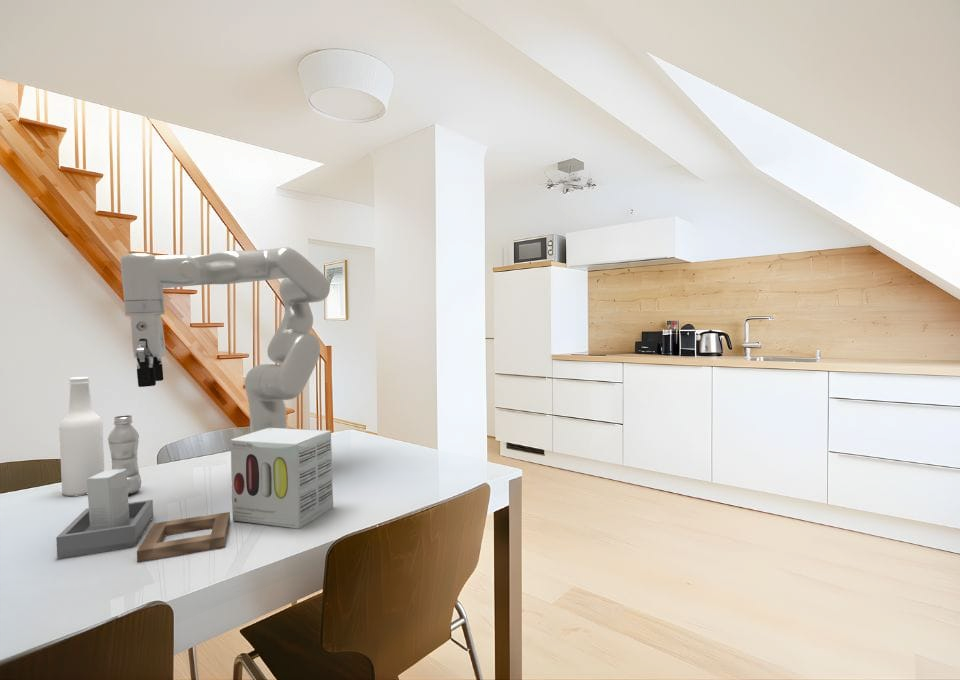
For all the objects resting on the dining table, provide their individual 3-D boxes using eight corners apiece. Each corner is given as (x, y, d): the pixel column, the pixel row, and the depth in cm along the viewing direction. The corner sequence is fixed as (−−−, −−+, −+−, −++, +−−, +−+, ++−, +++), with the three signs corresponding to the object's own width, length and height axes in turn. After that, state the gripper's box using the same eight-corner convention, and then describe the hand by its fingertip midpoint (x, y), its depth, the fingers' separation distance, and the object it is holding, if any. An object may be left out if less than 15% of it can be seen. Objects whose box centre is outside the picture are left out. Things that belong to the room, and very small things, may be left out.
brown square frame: (230, 521, 107) (229, 511, 107) (224, 547, 94) (224, 536, 94) (154, 532, 102) (153, 523, 101) (137, 562, 89) (136, 551, 89)
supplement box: (230, 522, 106) (227, 439, 106) (271, 501, 119) (269, 426, 119) (299, 530, 102) (297, 443, 101) (335, 506, 114) (332, 429, 114)
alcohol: (81, 485, 134) (77, 375, 133) (113, 485, 134) (109, 375, 133) (52, 497, 125) (47, 379, 124) (86, 496, 125) (81, 378, 124)
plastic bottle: (125, 499, 122) (122, 419, 122) (103, 497, 124) (100, 418, 123) (148, 490, 129) (145, 414, 128) (126, 489, 130) (123, 414, 130)
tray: (153, 517, 110) (152, 499, 110) (135, 546, 95) (134, 525, 95) (87, 527, 105) (86, 508, 105) (57, 559, 91) (56, 537, 90)
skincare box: (108, 526, 103) (106, 469, 103) (130, 525, 103) (128, 468, 103) (88, 538, 97) (86, 478, 97) (112, 537, 97) (109, 477, 97)
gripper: (157, 307, 106) (164, 386, 107) (170, 308, 121) (176, 377, 122) (115, 308, 102) (122, 390, 104) (133, 310, 118) (140, 380, 119)
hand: (151, 383), depth 113 cm, fingers open, 9 cm apart
